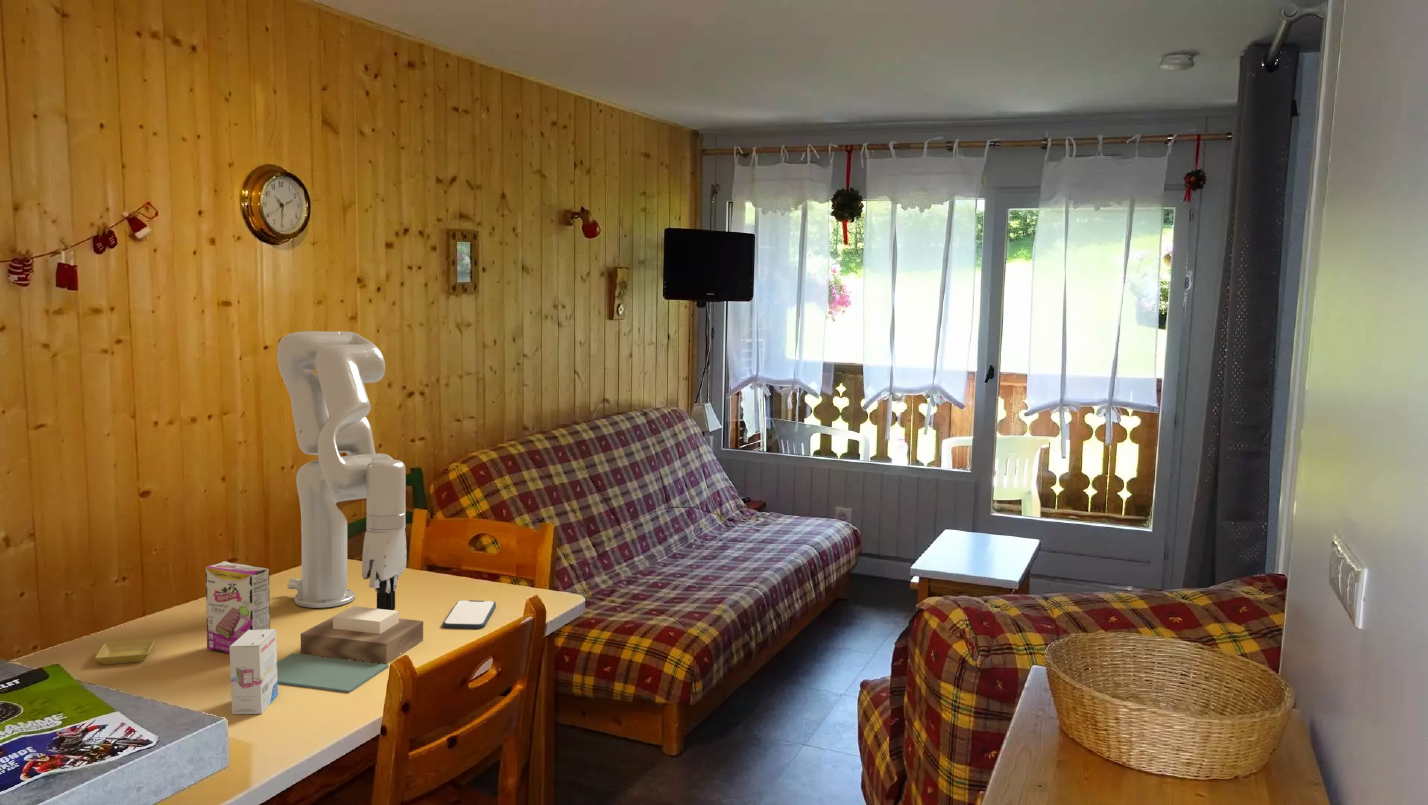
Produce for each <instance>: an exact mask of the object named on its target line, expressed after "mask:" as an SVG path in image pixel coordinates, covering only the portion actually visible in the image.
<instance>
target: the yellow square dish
mask: <svg viewBox="0 0 1428 805" xmlns="http://www.w3.org/2000/svg"><path fill="white" fill-rule="evenodd" d="M155 642H156V640H155V639H140V640H139V639H138V640H126V641H115V642H114V641H113V642H110V641H109V642H105V643H103V644H102V645H101V647H100V649H99V651H98V652H97V654H96V655H95V657H94V659H95V660H96V661H97V662H99V664H101V665H114V664H115V665H117V664H129V663H138V662H139V663H140V662H141V663H142V662H144V661H145V660H146V659H147V657H148V656H149V654H150V652H151V650H152V647H153V646H154V644H155Z"/></svg>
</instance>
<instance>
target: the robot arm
mask: <svg viewBox="0 0 1428 805" xmlns="http://www.w3.org/2000/svg"><path fill="white" fill-rule="evenodd" d="M276 361H277V366H278V371H279V374H280V376H281V379H282V381H283V383H284V386H285V387H286V390H287V393H288V395H289V398H290V403H291V404H290V405H291V411H292V418H293V426H294V430H295V435H296V436H295V437H296V440H297V445H298V447H299V449H300V450H301V452H303V453H304V454H306V455H312V456H313V455H315V456H317V457H318V459H317V460H313V461H309V462H307V463H305V464H303V465H302V466H300V468H299V469H298V471H297V473H296V477H295V481H296V488H297V489H296V490H297V494H298V499H299V500H298V501H299V507H300V518H301V519H300V521H301V522H300V524H301V525H300V526H301V529H300V530H301V531H300V532H301V578H297V577H291V578H290V579H289V580H288V584H287V589H290V590H296V591H297V594H295V596H294V597H293V598H294V603H295V604H296V605H297V606H300V607H304V608H310V609H311V608H312V609H317V608H319V609H324V608H334V607H340V606H343V605H347V604H348V603H351V602H352V601H354V600H355V596H356V593H355V592H354V590H352V589H350V588H348V520H347V518H346V516H345V515H344V513H343V512H342V511H341V510H340V509H339V507H338V505H337V503H339V502H344V501H354V500H361V499H365V500H366V503H365V504H366V505H365V506H366V507H365V508H366V510H365V511H366V521H365V522H366V524H365V525H366V526H365V528H366V531H365V534H364V538H363V546H362V560H361V562H362V563H361V577H362V579H363V580H369V583H368V586H369V588H372V589H374V590H375V593H376V609H385V610H394V611H395V609H396V590H397V587H398V586H397V585H398V579H399V577H401V576H402V574H403V571H405V569H406V568H407V560H408V559H407V557H408V556H407V537H406V530H405V529H406V528H407V527H406V512H407V510H406V507H407V506H406V496H407V495H406V491H407V490H406V488H407V486H406V485H407V483H406V474H407V473H406V472H407V471H406V470H407V469H406V468H407V467H406V465H405V463H404V462H403V461H402V460H398V459H394V458H393V457H392V456H390V455H389V454H386V453H380V452H379V453H376V448H375V441H374V437H373V436H374V435H373V431H372V426H371V424H370V421H369V419H368V418H367V416H368V415H369V414H370V412H371V409H372V408H371V407H372V406H371V402H370V399H369V397H368V393H367V390H366V387H365V384H371V383H375V384H376V383H378V382H380V381H382V379H383V378H384V376H385V372H386V361H385V357H384V355H383V353H382V351H381V350H380V349H379V347H378V346H376V344H374V343H373V342H372V341H370V340H368V339H367V338H365V337H363V336H362V335H360V334H358V333H357V332H353V331H342V330H341V331H338V330H337V331H325V330H324V331H322V330H320V331H319V330H314V331H312V330H310V331H309V330H308V331H306V330H305V331H296V332H295V331H294V332H291V333H289V334H286V335H285V336H283V337H282V338H281V339H280V341H279V342H278V346H277V350H276ZM314 371H315V372H316V373H315V372H314ZM341 453H342V454H343V453H346V454H347V455H343V456H341Z"/></svg>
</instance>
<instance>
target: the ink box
mask: <svg viewBox="0 0 1428 805" xmlns="http://www.w3.org/2000/svg"><path fill="white" fill-rule="evenodd" d="M277 649H278V648H277V630H276V629H275V628H270V629H263V630H248V631H247V632H245V633H244V634H243V635H242V636H241V637H240V638H239V639H238V640H236V641H235V642H234V643H233V644H232V645H231V646H230V647H229V650H230V653H229V665H230V667H229V668H230V695H231V698H230V699H231V714H232V715H261V714H263V713H264V712H265V711H266V709H267V708H268V707H269V706H270V704H271V703H272V702H273V701H274V700H275V699H276V698H277V697H278V695H279V691H278V690H279V688H278V687H279V685H278V683H277V661H278V654H277V653H278V652H277Z"/></svg>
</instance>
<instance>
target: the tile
mask: <svg viewBox="0 0 1428 805" xmlns="http://www.w3.org/2000/svg"><path fill="white" fill-rule="evenodd" d="M332 617H333V629H342V630H351V631H359V632H368V633H377V634H381V633H382V632H384V631H386V630H387V629H389V628H391V627H392V626H394V625H396V624H397V623H399V618H400V616H399V610H395V609H394V610H385V609H377V607H376V608H375V607H365V606H358V605H352V606H351V607H349V608H346V609H345V610H343V611H341V612H338V613H337V614H334V615H332Z"/></svg>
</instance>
